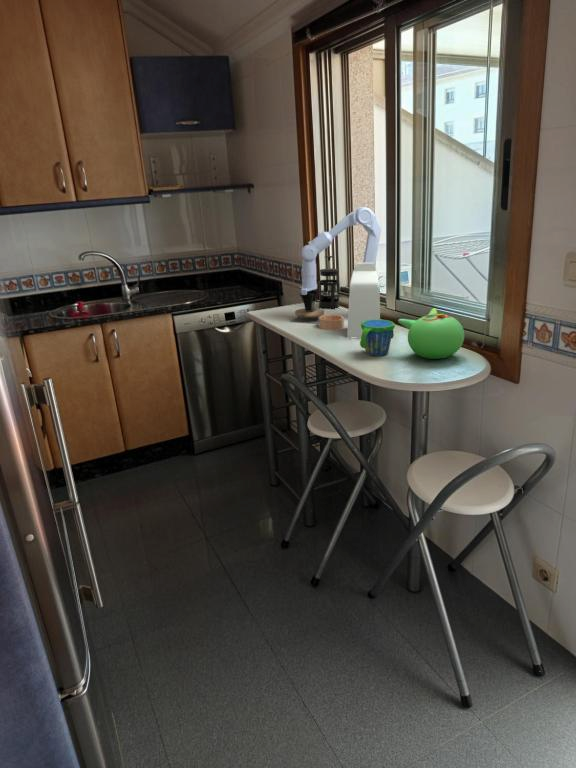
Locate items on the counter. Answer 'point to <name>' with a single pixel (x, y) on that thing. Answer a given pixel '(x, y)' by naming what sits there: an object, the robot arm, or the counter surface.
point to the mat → (306, 320)
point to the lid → (309, 312)
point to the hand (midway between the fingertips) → (309, 309)
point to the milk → (363, 298)
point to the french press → (326, 302)
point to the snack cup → (377, 336)
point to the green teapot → (434, 335)
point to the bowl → (331, 322)
